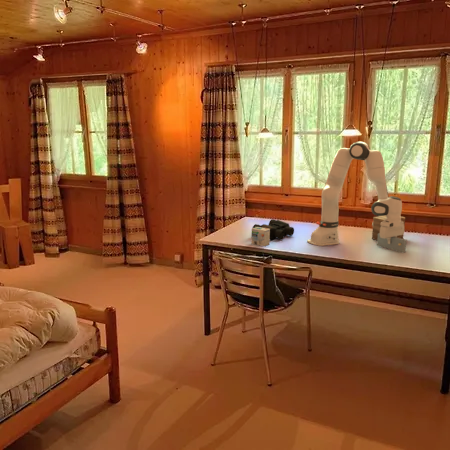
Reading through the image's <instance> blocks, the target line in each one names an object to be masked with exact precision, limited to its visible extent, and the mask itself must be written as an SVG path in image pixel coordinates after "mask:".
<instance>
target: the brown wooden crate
mask: <svg viewBox="0 0 450 450" xmlns="http://www.w3.org/2000/svg"><path fill="white" fill-rule="evenodd" d="M385 219H386V216H385V215H384V216H373V217H372V220H373V221H372V223H373V226H372V233H371V238H372V240H375V241H377V239H378V234H379V233H380V227H381V225H380V223H381V222H382V221H384V220H385ZM401 221H403V222H404V226H405V223H406V217H405V216H401ZM404 235H405V233H404V234H403V235H399V236H397V238H401V239H404Z"/></svg>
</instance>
